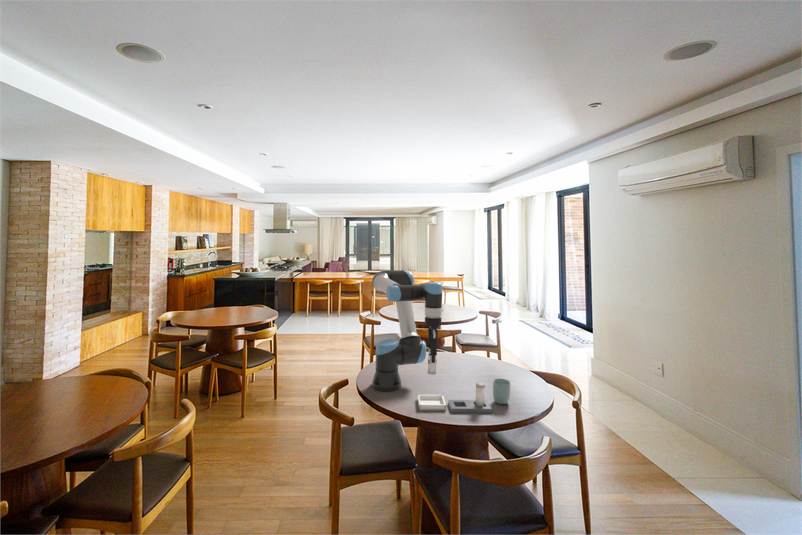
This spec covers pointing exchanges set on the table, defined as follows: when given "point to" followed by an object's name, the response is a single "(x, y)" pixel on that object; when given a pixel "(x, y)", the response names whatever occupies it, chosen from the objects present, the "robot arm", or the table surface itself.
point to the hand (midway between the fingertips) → (432, 367)
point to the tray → (431, 402)
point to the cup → (501, 391)
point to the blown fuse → (431, 372)
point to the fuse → (480, 394)
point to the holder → (469, 406)
